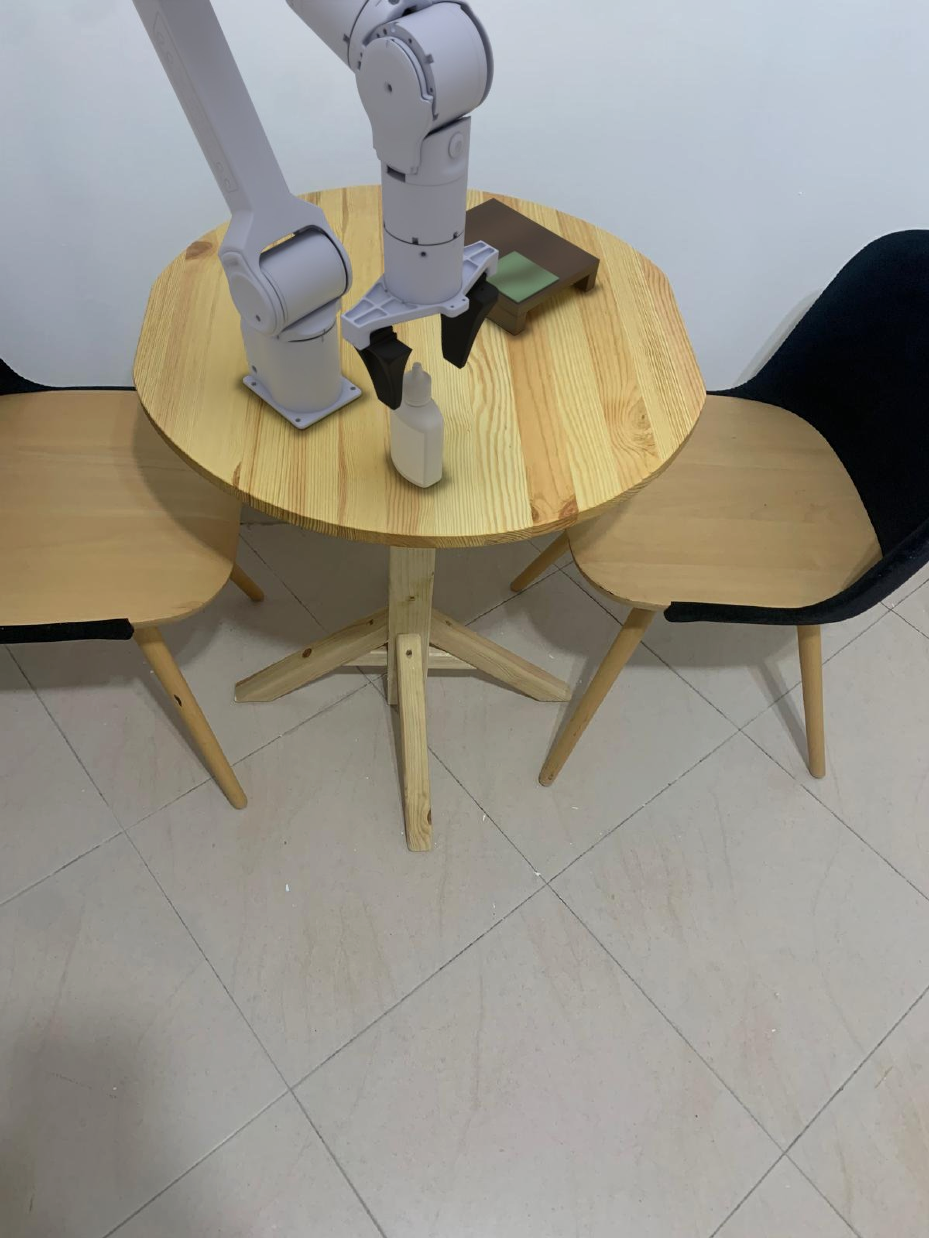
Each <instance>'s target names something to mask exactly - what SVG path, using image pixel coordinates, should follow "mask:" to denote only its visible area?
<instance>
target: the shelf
mask: <svg viewBox="0 0 929 1238" xmlns="http://www.w3.org/2000/svg"><path fill="white" fill-rule="evenodd" d="M480 240H481V241H483V242H485V243H486V244H488V245H490V246H491V247H493V248H495V249H496V250H498V251H499V254H498V265H497V273H496V274H494V275H493V276H491V277H486V281H488V282H489V283H491V284H493V285H494V286H496V287H497V288H498V290H499V297H498V302H497V303H496V304H495V306H494V307H493V308H492V309H491V311H490V312H489V314H488V315H487V317H486V318H487V319H489V320H490V321H492V322H493V323H494V324H496V325H498V326H500V327H501V328H502V329H504V330H506V332H508V333H510V334H512V336H516V335H518V334H519V333H522V331H525V325H526V318H527V312H528V311H530V310H532V309H534V308H535V307H537V306H539V305H540V304H542V303H544V302H546V301H547V300H549V299H550V298H552V297H554V296H555V295H557V294H559V293H560V292H562V291H564V290H565V289H567V288H569V287H571V286H572V285H573V286H575V287H576V288H577V289H579V290H581V291H583V292H584V293H587V292H589V291H590V290H592V289H594V288H595V284H596V279H597V276H598V271H599V267H600V263H601V259H600V258H598V257H596V256H595V255H593V254H591V253H590V252H588V251H587V250H584V249H583V248H581V247H580V246H578V245H576V244H574V243H573V242H570V241H569V240H567V239H566V238H564V237H562V236H561V235H559V234H557V233H555V232H553V231H552V230H550V229H548V228H547V227H545V226H544V225H541V224H540V223H538V222H537V221H534V220H533V219H531V218H529V217H527V216H526V215H525V214H522V213H521V212H519V211H517V210H516V209H514V208H512V207H510V206H509V205H507V204H505V203H504V202H502V201H500V200H498V199H497V198H495V197H491V199H488V200H486V201H484V202H482V203H479V204H478V205H476V206H474V207H473V206H472V207H471V208H470V209H466V219H465V235H464V247H465V246H468V245H471V244H474V243H476V242H478V241H480Z"/></svg>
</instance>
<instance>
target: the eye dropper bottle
mask: <svg viewBox="0 0 929 1238" xmlns="http://www.w3.org/2000/svg"><path fill="white" fill-rule="evenodd" d="M389 432H390V433H389V437H390V439H389V440H390V441H389V442H390V458H391V461H392V464H393V466H394V468H395V469H396V470H397V472H398V473H399V474H400V475H401V476H402V477H403V478H404V479H405V480H406V481H408V482H409V483H411V484H413V485H415V486H418V487H419V488H428V487H431V486H432V485H434V484H436V483H437V482H440V480H441V479H442V477H443V463H444V462H443V460H444V441H445V439H444V438H445V419H444V416H443V413H442V411H441V409H440V407H439V405H438V404H437V402H436V401H435V400H434V398H433V397H432V377H431V375H430V373H428V372H427V371H425V370H423V365H422V363H421V362H419V361H415V362H413V363H412V367H411V369H410V370H408V371H406V372H404V376H403V392H402V402H401V405H400V407H399V408H397V409H396V410H392V409H390V408H389Z"/></svg>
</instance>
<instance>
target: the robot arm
mask: <svg viewBox="0 0 929 1238" xmlns="http://www.w3.org/2000/svg"><path fill="white" fill-rule="evenodd" d="M131 2H132V4H133V6H134V8H135V10H136V12H137V14H138V16H139V18H140V21H141V23H142V25H143V28H144V29H145V31H146V33H147V35H148V38H149V40H150V43H151V45H152V46H153V49H154V51H155V53H156V55H157V57H158V59H159V62H160V64H161V66H162V68H163V70H164V72H165V75H166V77H167V78H168V81H169V83H170V85H171V87H172V89H173V92H174V94H175V97H176V98H177V100H178V103H179V104H180V106H181V109H182V111H183V113H184V116H185V117H186V119H187V121H188V124H189V126H190V128H191V130H192V132H193V135H194V136H195V139H196V141H197V143H198V145H199V147H200V149H201V151H202V154H203V156H204V158H205V160H206V162H207V165H208V166H209V169H210V171H211V173H212V176H213V177H214V180H215V181H216V184H217V186H218V188H219V191H220V193H221V195H222V197H223V199H224V201H225V203H226V205H227V207H228V210H229V212H230V214H231V219H230V220H229V223H228V226H227V229H226V231H225V234H224V236H223V238H222V241H221V243H220V245H219V249H218V252H217V257H218V259H219V261H220V264H221V266H222V270H223V271H224V274H225V277H226V280H227V283H228V291H229V294H230V298H231V301H232V302H233V305H234V307H235V309H236V310H237V313H238V314H239V315H240V322H239V328H240V332H241V338H242V344H243V347H244V352H245V358H246V362H247V367H248V371H249V374H248V375H246V376H244V377H243V379H242V382H243V384H244V385H245V386H246V387H247V388H249V389H250V390H251V391H252V392H254V393H255V394H256V395H257V396H259V398H261V399H262V400H263V401H264V402H266V403H267V404H268V405H269V406H270V407H271V408H273V410H275V411H277V412H278V413H279V414H280V415H281V416H283V417H284V418H285V419H286V420H287V421H289V422H290V423H291V424H292V425H293V426H294V427H296V428H297V429H299V430H304V429H306V428H308V427H310V426H312V425H313V424H315V423H317V422H319V421H320V420H321V419H324V418H325V417H327V416H329V415H330V414H332V413H333V412H335V411H337V410H339V409H340V408H342V407H344V406H345V405H347V404H349V403H350V402H352V401H354V400H355V399H357V398H360V396H361V395H362V389H361V388H359V387H358V386H357V385H356V384H354V383H353V382H351V381H350V380H349V379H347V378H346V377H345V376H343V374H342V362H341V352H340V351H341V350H340V340H339V329H338V327H339V326H338V318H337V317H338V316H337V315H338V313H339V312H340V311H341V310H342V309H343V303H342V297H343V296H345V295H347V294H348V293H349V292H350V291H351V289H352V286H353V282H354V281H353V279H354V275H353V268H352V262H351V259H350V255H349V253H348V251H347V249H346V248H345V246H344V244H343V242H342V241H341V240H340V239H339V238H338V236H337V235H336V234H335V231H333V229H332V227H331V226H330V224H329V222H328V220H327V218H326V214H325V212H324V210H323V208H321V206H319V205H317V204H314V203H312V202H310V201H308V200H305V199H303V198H302V197H299V196H297V195H296V194H293V193H292V192H291V191H290V189H289V186H288V183H287V181H286V179H285V177H284V175H283V172H282V169H281V167H280V165H279V162H278V160H277V158H276V155H275V153H274V151H273V148H272V146H271V143H270V140H269V139H268V136H267V134H266V131H265V129H264V126H263V124H262V122H261V120H260V117H259V114H258V113H257V112H258V111H257V110H256V108H255V105H254V103H253V101H252V98H251V95H250V93H249V91H248V89H247V85H246V84H245V82H244V81H245V80H244V78H243V77H242V74H241V72H240V69H239V67H238V64H237V62H236V60H235V57H234V55H233V53H232V50H231V48H230V45H229V42H228V41H227V39H226V36H225V34H224V31H223V29H222V27H221V26H222V25H221V24H220V21H219V19H218V16H217V14H216V12H215V10H214V6H213V4H212V3H211V2H212V1H211V0H131ZM285 2H286V4H287V6H288V7H289V8H290V9H291V10H292V12H293V13H295V14H296V16H298V18H299V19H300V20H301V21H302V22H303V23H304V24H305V25H306V26H307V28H309V29H310V30H311V31H312V32H313V33H314V34H315V35H316V36H317V37H318V38H319V39H320V41H322V42H323V43H324V44H325V45H326V46H327V47H328V48H329V49H330V50H331V51H332V52H333V53H334V54H335V56H337V57H338V58H339V60H340V61H342V62H343V64H345V66H347V67H348V68H349V69H350V70H351V71H352V72H353V74H354V75H355V84H356V88H357V92H358V96H359V99H360V102H361V104H362V107H363V109H364V112H365V113H366V115H367V117H368V120H369V123H370V126H371V132H372V134H371V135H372V149H374V150H375V152H376V158H377V159H378V160H379V161H380V179H381V180H380V181H381V182H380V183H381V184H380V185H381V208H382V209H381V211H382V213H381V214H382V240H383V241H382V242H383V243H382V245H383V247H382V248H383V271H384V272H383V274H382V275H381V276H380V277H379V278H378V279H377V280H376V281H375V282H374V283H373V284H372V286H371V287H370V288H369V289H368V290H367V291H366V292H365V293H364V295H363V296H362V297H361V298H360V299H359V300H358V301H357V302H356V303H355V304H354V305H353V306H352V307H350V308H349V309H348V310H346V311H345V312H343V313H341V314H340V315H339V318H340V329H341V339H343V340H344V341H346V342H347V343H349V344H350V345H351V346H352V348H354V350H355V351H356V353H357V354H358V356H359V357H360V359H361V361H362V363H363V364H364V367H365V368H366V371H367V373H368V375H369V377H370V380H371V382H372V386H373V389H374V391H375V395H376V397H377V400H378V401H379V402H381V403H382V404H383V405H385V406H386V407H388V408H389V410H390V409H392V410H396V409H397V408H399V407H400V405H401V402H402V392H403V376H404V374H405V370H406V366H407V363H408V360H409V359H410V356H411V354H412V352H413V351H414V349H413V348H411V347H410V346H409V345H408V344H406V343H404V342H403V341H402V340H400V339H398V332H396V331H394V326H395V325H399V324H403V323H407V322H411V321H414V320H419V319H423V318H427V317H431V316H436V315H440V345H441V346H440V347H441V354H442V358H443V359H444V360H445V361H447V362H448V363H450V364H451V365H452V366H454V367H455V368H457V369H459V370H461V369H463V368H465V366H466V364H467V362H468V360H469V357H470V354H471V351H472V349H473V346H474V343H475V341H476V338H477V336H478V334H479V331H480V329H481V327H482V325H483V324H484V322H485V320H486V318H487V315H488V314H489V312H490V311H491V309H492V308H493V307H494V306H495V304H496V303H497V302H498V297H499V290H498V288H497V287H496V286H494V285H493V284H491V283H489V282H488V281H486V277H491V276H493V275H494V274H496V273H497V265H498V254H499V251H498V250H496V249H495V248H493V247H491V246H490V245H488V244H486V243H485V242H483V241H481V240H480V241H478V242H476V243H474V244H471V245H468V246H465V247H464V235H465V219H466V211H467V199H468V182H469V165H470V164H469V163H470V145H471V130H472V129H471V127H472V115H468V114H470V113H472V112H473V111H474V110H475V109H477V108H478V107H480V106H481V105H482V104H483V103H484V102H485V101H486V99H487V98H488V95H489V94H490V92H491V89H492V86H493V80H494V74H495V73H494V72H495V61H494V53H493V48H492V44H491V41H490V37H489V35H488V32H487V30H486V28H485V25H484V24H483V22H482V20H481V18H480V17H479V16H478V15H477V14H476V13H475V12H474V10H473V8H472V6H471V5H470V3H469V2H468V0H285ZM466 115H468V116H466ZM290 235H293V236H290ZM288 236H290V237H289V238H287V239H285V240H283V241H282V242H280V243H277V244H276V245H273V244H274V243H276V242H278V241H280V240H282V239H284V238H286V237H288ZM270 245H273V246H272V247H270V248H268V247H269V246H270ZM266 248H268V249H266ZM265 249H266V250H265Z"/></svg>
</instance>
